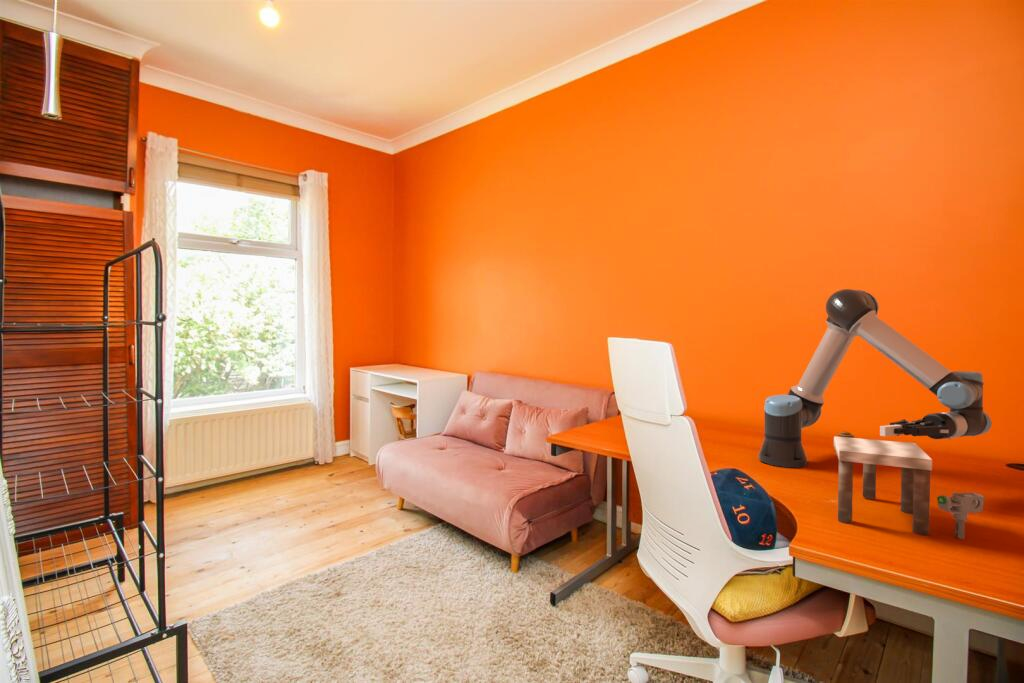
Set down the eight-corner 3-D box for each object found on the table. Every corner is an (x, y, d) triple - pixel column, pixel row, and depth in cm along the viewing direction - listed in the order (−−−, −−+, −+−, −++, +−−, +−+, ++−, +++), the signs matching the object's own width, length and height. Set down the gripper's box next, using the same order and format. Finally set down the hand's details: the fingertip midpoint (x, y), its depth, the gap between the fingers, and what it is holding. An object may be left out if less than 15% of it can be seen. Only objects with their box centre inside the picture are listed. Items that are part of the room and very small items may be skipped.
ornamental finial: (836, 449, 197) (859, 452, 192) (831, 452, 192) (855, 456, 187) (836, 429, 197) (859, 431, 192) (832, 432, 192) (855, 435, 186)
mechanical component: (933, 535, 117) (934, 493, 116) (973, 534, 118) (974, 491, 117) (945, 541, 114) (946, 497, 113) (986, 539, 115) (987, 496, 114)
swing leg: (880, 508, 133) (881, 453, 133) (866, 506, 135) (867, 452, 134) (874, 496, 142) (875, 445, 142) (862, 494, 144) (862, 444, 143)
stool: (838, 522, 125) (839, 450, 125) (832, 499, 141) (833, 436, 140) (930, 536, 116) (932, 459, 116) (913, 511, 132) (915, 443, 132)
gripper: (968, 442, 143) (906, 449, 136) (919, 433, 155) (860, 439, 149) (968, 416, 142) (906, 422, 136) (919, 409, 155) (860, 414, 148)
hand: (882, 431), depth 142 cm, fingers closed
